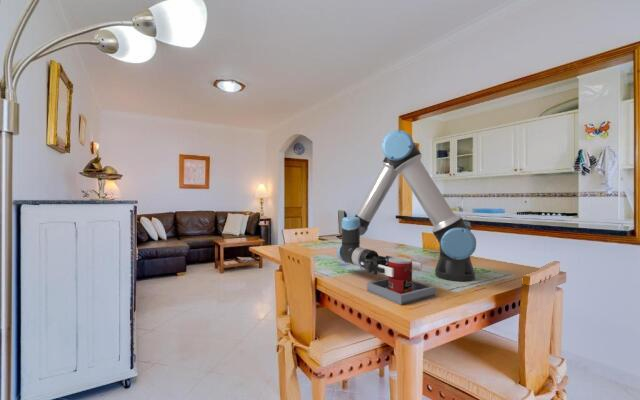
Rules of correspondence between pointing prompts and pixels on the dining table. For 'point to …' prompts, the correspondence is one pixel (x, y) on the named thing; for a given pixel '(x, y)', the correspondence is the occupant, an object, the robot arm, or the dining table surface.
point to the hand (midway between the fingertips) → (407, 270)
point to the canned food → (400, 275)
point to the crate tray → (416, 294)
